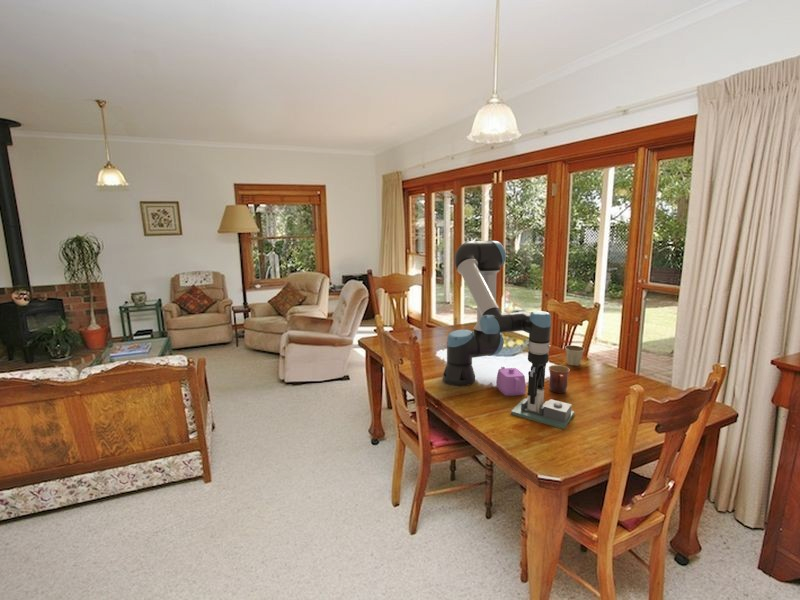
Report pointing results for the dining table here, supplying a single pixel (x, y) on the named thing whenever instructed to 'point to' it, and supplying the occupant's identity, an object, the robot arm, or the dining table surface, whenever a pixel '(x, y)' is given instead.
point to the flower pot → (574, 354)
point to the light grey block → (538, 399)
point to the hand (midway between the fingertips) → (535, 408)
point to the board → (546, 413)
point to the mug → (558, 378)
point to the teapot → (511, 381)
